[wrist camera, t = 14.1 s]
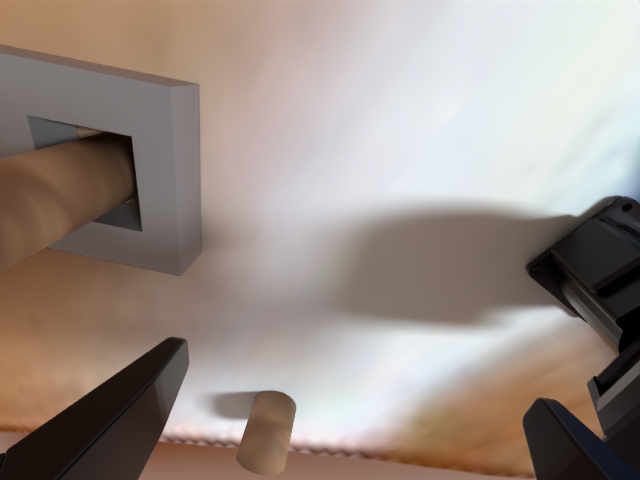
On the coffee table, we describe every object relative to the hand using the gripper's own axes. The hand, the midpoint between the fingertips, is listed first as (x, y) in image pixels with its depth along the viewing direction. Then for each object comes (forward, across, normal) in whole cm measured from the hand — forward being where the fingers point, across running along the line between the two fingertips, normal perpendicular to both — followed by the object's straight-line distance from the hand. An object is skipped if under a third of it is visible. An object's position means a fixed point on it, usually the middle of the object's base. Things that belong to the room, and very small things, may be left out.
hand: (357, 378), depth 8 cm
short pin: (+13, +4, +22) cm, 26 cm away
